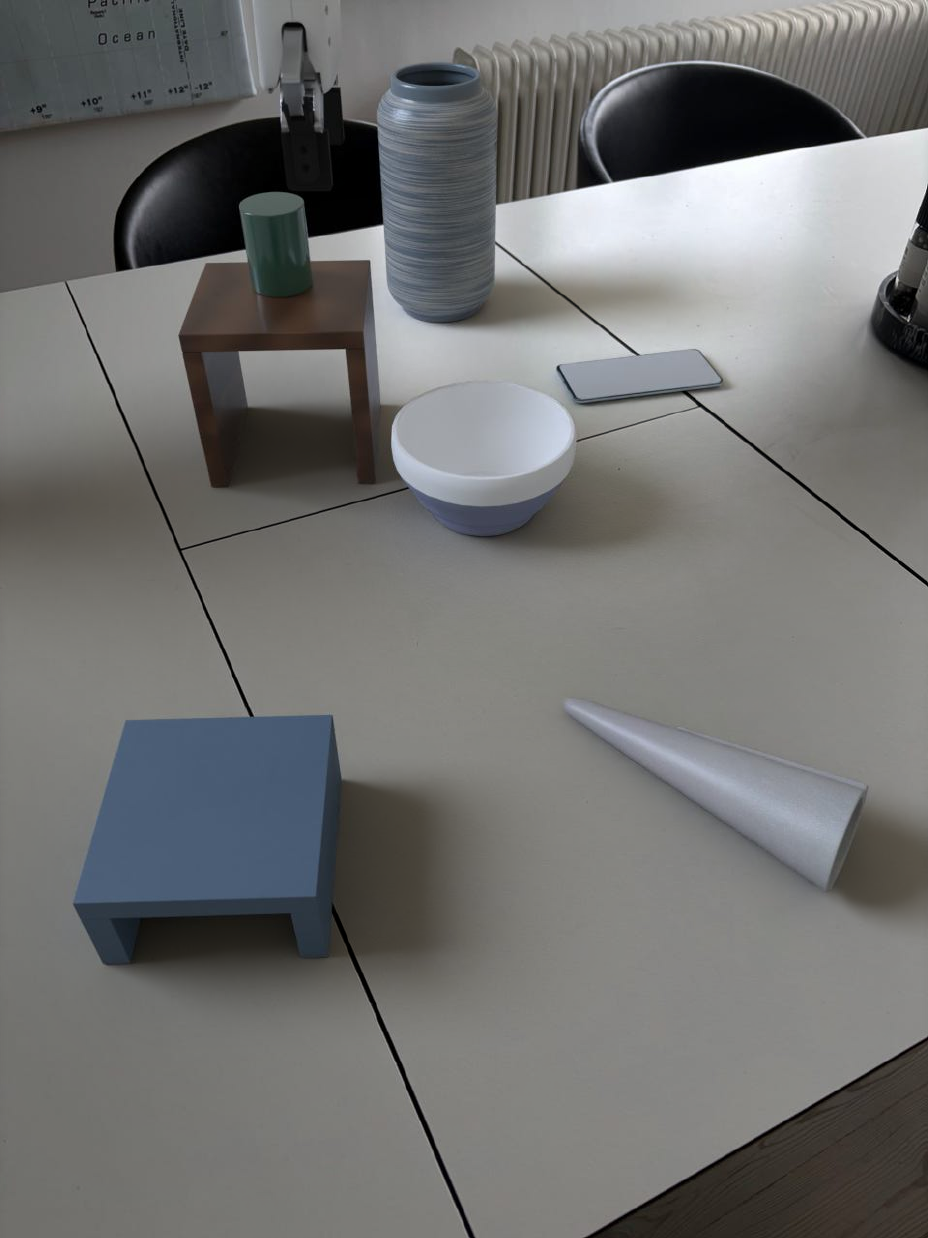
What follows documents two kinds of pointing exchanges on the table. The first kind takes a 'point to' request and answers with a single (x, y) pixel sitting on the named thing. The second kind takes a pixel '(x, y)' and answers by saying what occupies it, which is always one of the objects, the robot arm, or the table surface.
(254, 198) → the jar
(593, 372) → the smartphone
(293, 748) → the lower shelf
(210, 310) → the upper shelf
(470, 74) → the vase
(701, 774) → the long tapered cone
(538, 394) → the bowl
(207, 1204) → the table surface
